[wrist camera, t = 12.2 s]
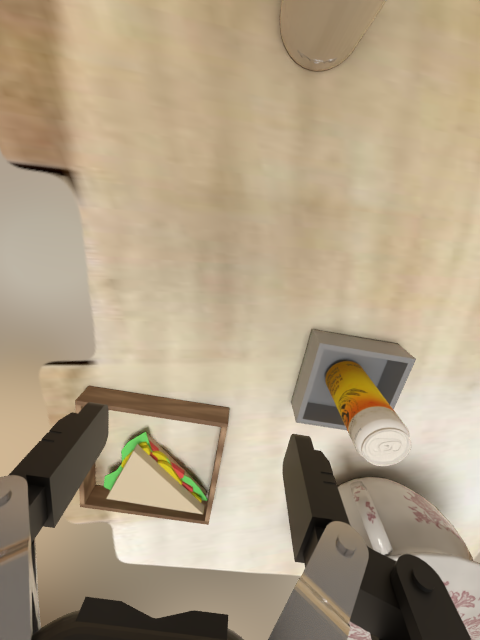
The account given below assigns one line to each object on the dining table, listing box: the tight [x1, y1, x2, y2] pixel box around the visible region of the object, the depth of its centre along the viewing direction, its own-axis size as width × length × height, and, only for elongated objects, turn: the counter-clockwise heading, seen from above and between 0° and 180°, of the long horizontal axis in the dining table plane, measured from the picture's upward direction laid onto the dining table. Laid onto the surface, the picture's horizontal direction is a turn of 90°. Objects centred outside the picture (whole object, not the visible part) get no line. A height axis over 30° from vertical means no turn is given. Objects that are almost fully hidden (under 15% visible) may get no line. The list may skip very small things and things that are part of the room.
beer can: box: [325, 361, 411, 466], centre depth 38 cm, size 6×6×15 cm
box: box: [291, 329, 416, 430], centre depth 43 cm, size 14×14×5 cm
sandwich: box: [104, 432, 208, 514], centre depth 52 cm, size 15×20×5 cm
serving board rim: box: [75, 386, 229, 525], centre depth 50 cm, size 24×24×4 cm
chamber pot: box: [338, 477, 480, 640], centre depth 46 cm, size 28×28×21 cm
